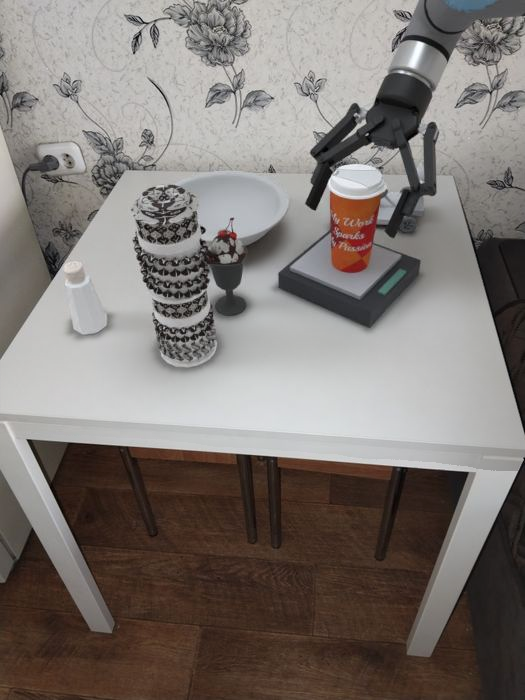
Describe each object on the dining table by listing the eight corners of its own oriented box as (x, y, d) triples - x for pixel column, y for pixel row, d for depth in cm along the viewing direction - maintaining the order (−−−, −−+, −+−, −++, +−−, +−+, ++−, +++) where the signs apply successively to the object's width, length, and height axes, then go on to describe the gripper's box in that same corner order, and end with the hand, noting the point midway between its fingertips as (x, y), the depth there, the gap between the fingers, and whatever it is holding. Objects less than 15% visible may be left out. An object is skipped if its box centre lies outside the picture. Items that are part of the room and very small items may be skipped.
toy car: (436, 153, 107) (439, 184, 99) (428, 201, 114) (430, 234, 106) (337, 149, 110) (332, 179, 102) (334, 196, 117) (329, 228, 108)
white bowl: (289, 199, 116) (289, 168, 112) (290, 272, 99) (289, 239, 95) (169, 201, 117) (163, 171, 113) (148, 274, 100) (141, 241, 96)
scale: (418, 275, 98) (421, 256, 95) (369, 327, 89) (371, 308, 86) (331, 242, 105) (332, 223, 103) (278, 287, 96) (278, 268, 94)
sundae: (253, 292, 96) (248, 211, 85) (249, 319, 91) (243, 237, 80) (213, 291, 96) (203, 210, 86) (206, 318, 91) (195, 236, 81)
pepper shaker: (68, 320, 92) (48, 262, 85) (101, 308, 94) (84, 250, 87) (79, 340, 89) (59, 282, 81) (113, 327, 91) (97, 269, 83)
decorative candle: (159, 328, 90) (127, 178, 73) (219, 324, 90) (201, 173, 73) (154, 371, 84) (118, 217, 66) (219, 366, 84) (200, 212, 66)
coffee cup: (317, 271, 93) (320, 184, 82) (333, 243, 98) (337, 158, 88) (369, 282, 90) (379, 194, 80) (382, 252, 96) (393, 166, 85)
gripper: (496, 115, 83) (431, 254, 85) (344, 81, 94) (290, 204, 96) (490, 88, 76) (420, 240, 78) (327, 55, 88) (269, 188, 90)
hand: (348, 221), depth 87 cm, fingers open, 13 cm apart
